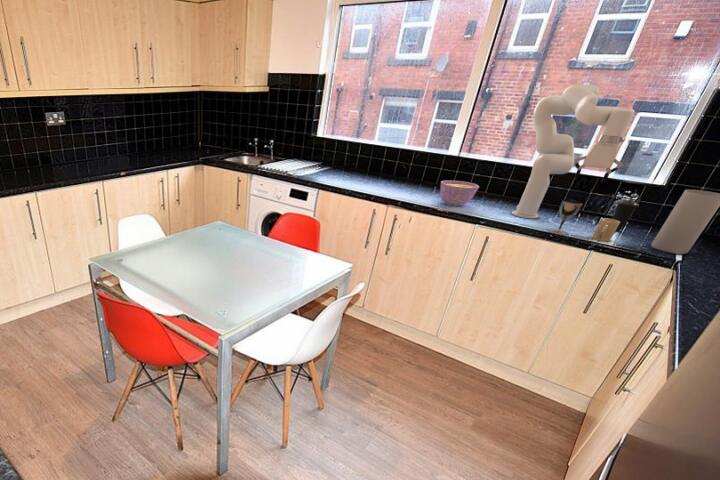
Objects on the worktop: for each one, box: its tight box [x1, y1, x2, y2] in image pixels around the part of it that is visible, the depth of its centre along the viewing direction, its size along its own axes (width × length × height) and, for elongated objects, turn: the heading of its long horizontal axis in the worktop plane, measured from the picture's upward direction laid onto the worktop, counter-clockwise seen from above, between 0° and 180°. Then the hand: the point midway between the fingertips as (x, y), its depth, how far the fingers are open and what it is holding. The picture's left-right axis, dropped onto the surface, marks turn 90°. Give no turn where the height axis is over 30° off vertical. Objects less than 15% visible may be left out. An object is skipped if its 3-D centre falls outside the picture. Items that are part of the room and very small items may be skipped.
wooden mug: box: [591, 217, 620, 242], centre depth 198 cm, size 10×7×9 cm
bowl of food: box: [439, 179, 480, 207], centre depth 246 cm, size 20×20×12 cm
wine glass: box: [548, 198, 584, 236], centre depth 204 cm, size 8×8×15 cm
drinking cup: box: [611, 189, 640, 233], centre depth 209 cm, size 8×8×20 cm
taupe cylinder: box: [650, 189, 720, 255], centre depth 184 cm, size 12×12×25 cm
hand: (588, 180), depth 194 cm, fingers open, 9 cm apart
